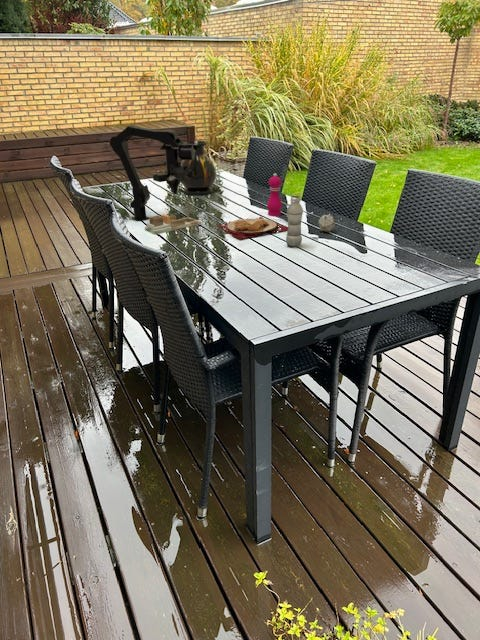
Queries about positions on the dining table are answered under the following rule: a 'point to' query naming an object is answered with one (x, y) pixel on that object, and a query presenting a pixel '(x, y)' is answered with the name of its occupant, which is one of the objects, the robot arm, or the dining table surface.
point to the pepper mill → (274, 196)
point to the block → (156, 220)
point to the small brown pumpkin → (326, 223)
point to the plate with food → (251, 227)
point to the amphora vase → (199, 171)
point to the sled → (165, 222)
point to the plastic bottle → (294, 222)
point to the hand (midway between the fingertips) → (174, 194)
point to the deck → (175, 225)
